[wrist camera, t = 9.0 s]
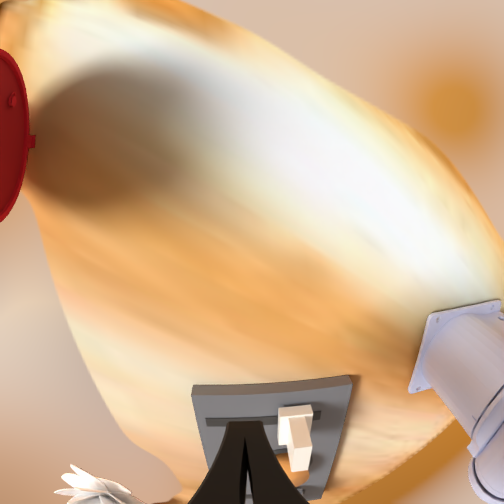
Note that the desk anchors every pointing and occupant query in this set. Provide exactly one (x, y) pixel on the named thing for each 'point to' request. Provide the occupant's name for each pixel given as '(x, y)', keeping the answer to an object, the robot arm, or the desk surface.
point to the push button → (295, 477)
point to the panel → (266, 410)
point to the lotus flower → (95, 489)
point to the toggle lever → (296, 434)
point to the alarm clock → (12, 132)
